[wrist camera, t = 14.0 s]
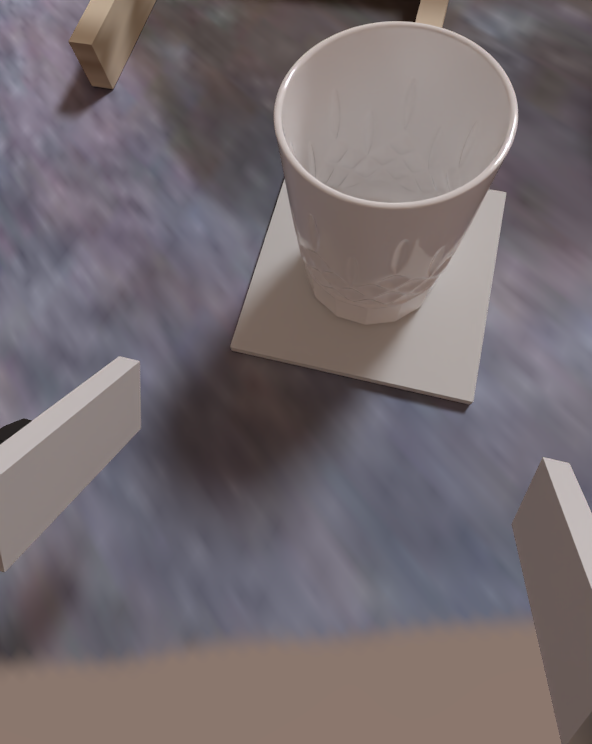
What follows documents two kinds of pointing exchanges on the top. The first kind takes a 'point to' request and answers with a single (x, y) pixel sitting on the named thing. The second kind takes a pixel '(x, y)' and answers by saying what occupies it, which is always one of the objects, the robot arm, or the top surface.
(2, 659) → the top surface
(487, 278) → the mat
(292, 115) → the white cup
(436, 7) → the frame
